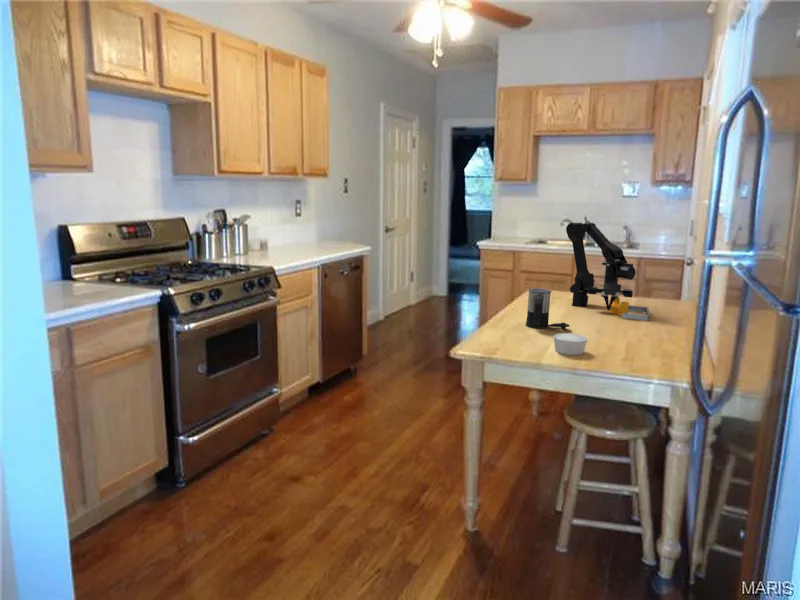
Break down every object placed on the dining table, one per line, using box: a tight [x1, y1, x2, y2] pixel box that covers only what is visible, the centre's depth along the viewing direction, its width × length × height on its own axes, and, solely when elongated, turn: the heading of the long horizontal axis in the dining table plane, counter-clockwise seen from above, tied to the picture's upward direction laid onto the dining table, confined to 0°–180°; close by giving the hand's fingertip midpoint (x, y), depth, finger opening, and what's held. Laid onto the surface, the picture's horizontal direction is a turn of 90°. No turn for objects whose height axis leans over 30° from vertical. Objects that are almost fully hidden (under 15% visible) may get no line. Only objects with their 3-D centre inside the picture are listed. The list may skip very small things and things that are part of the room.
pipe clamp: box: [608, 296, 630, 318], centre depth 265 cm, size 12×4×6 cm, turn 2°
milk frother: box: [525, 287, 570, 330], centre depth 237 cm, size 14×16×15 cm
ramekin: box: [552, 333, 588, 356], centre depth 206 cm, size 11×11×5 cm
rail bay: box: [621, 304, 651, 322], centre depth 263 cm, size 11×18×2 cm, turn 160°
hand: (608, 310), depth 266 cm, fingers closed
